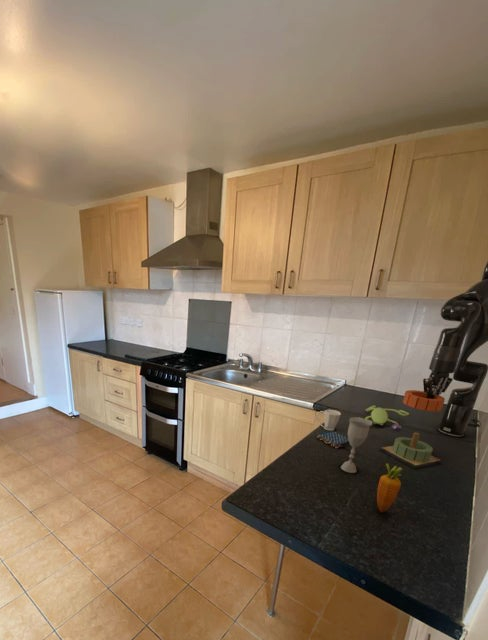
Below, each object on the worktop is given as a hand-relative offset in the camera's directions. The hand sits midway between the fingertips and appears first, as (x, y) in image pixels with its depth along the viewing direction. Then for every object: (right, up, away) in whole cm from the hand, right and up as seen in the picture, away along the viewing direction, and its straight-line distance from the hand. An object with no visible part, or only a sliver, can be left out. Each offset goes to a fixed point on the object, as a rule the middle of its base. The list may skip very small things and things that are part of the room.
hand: (430, 403), depth 124 cm
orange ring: (-5, -1, -2) cm, 5 cm away
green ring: (-6, -19, +2) cm, 20 cm away
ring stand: (-7, -21, +2) cm, 22 cm away
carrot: (-37, -31, -31) cm, 57 cm away
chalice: (-35, -23, -9) cm, 43 cm away
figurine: (+3, -9, +36) cm, 38 cm away
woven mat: (-31, -16, +12) cm, 37 cm away
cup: (-29, -11, +25) cm, 40 cm away
